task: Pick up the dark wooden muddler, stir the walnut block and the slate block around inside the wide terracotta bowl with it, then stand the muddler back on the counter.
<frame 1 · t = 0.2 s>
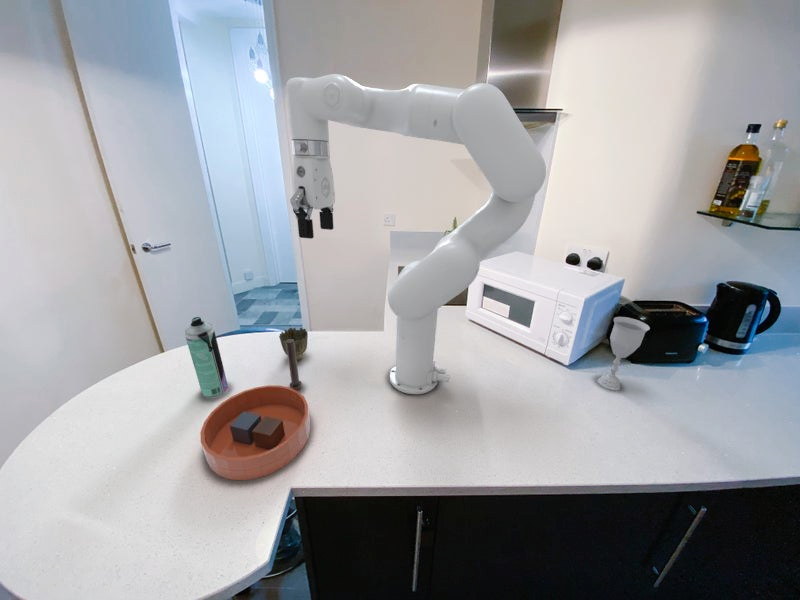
hand: (317, 233, 72), 36 cm above the worktop, tool pointing down, fingers open, 9 cm apart
chalice: (608, 384, 83), on the worktop
bowl: (261, 438, 64), on the worktop
cup: (296, 358, 90), on the worktop
spray can: (216, 392, 76), on the worktop
muddler: (296, 389, 78), on the worktop
slate block: (248, 435, 64), point 1 cm above the worktop, touching bowl
walnut block: (270, 440, 63), point 1 cm above the worktop, touching bowl
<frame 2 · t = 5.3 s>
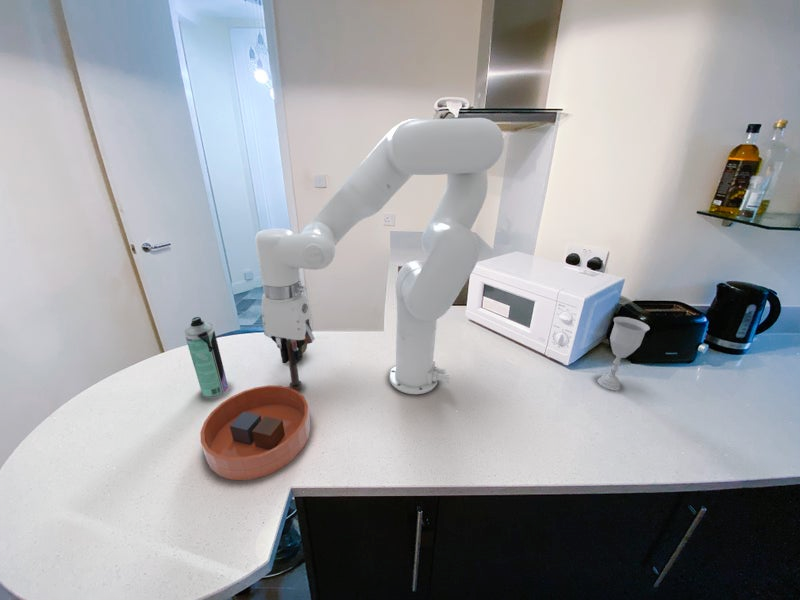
hand: (292, 360, 74), 9 cm above the worktop, tool pointing down, fingers closed on muddler
muddler: (296, 389, 78), on the worktop, touching gripper
everything else where it was.
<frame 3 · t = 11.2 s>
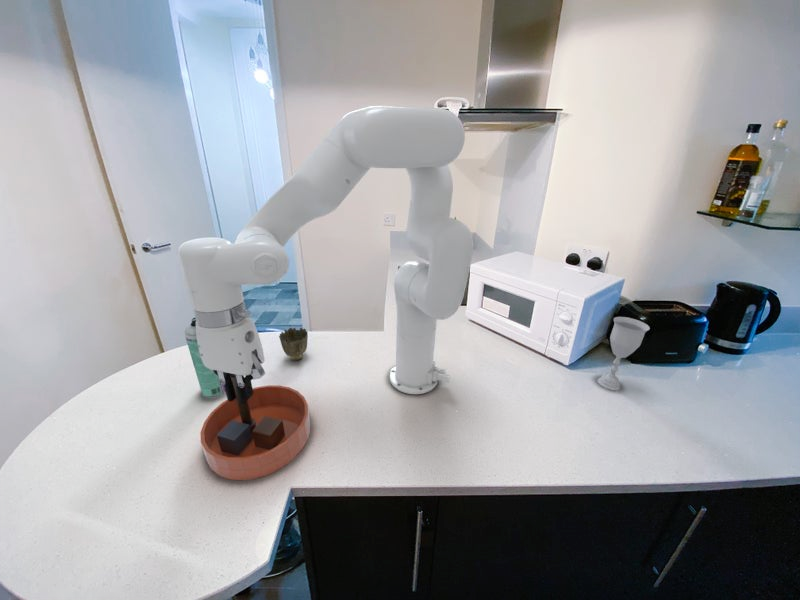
hand: (241, 397, 61), 10 cm above the worktop, tool pointing down, fingers closed on muddler
muddler: (249, 429, 64), point 1 cm above the worktop, touching gripper, slate block
slate block: (237, 444, 62), point 1 cm above the worktop, touching bowl, muddler
everything else where it was.
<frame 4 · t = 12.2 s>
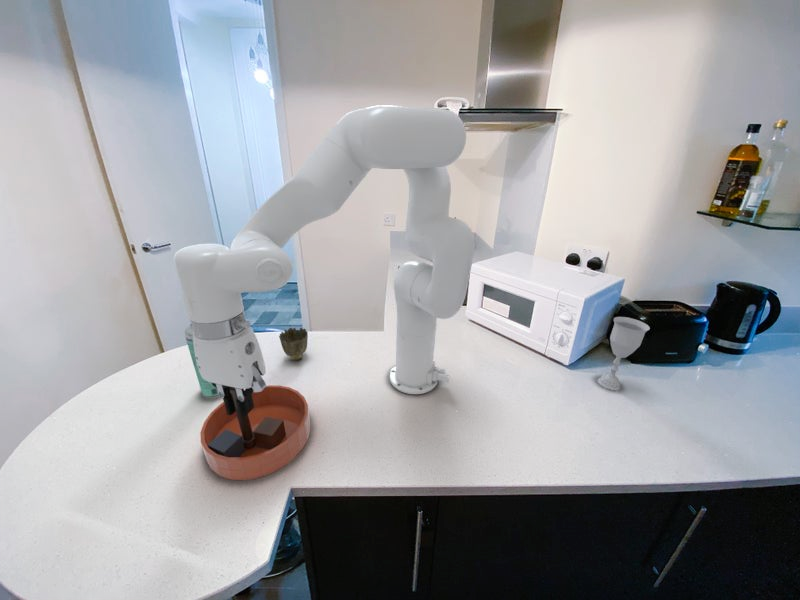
hand: (241, 410, 58), 10 cm above the worktop, tool pointing down, fingers closed on muddler
muddler: (249, 443, 61), point 1 cm above the worktop, touching gripper
slate block: (229, 455, 59), point 1 cm above the worktop, touching bowl
walnut block: (271, 440, 63), point 1 cm above the worktop
everything else where it was.
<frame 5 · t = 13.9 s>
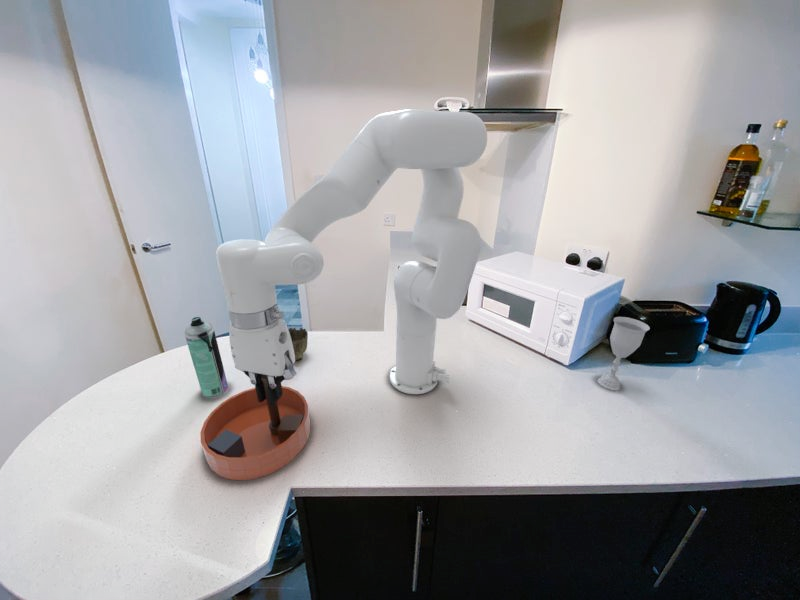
hand: (270, 398, 61), 10 cm above the worktop, tool pointing down, fingers closed on muddler
muddler: (277, 429, 65), point 1 cm above the worktop, touching gripper
walnut block: (293, 437, 64), point 1 cm above the worktop, touching bowl
everything else where it was.
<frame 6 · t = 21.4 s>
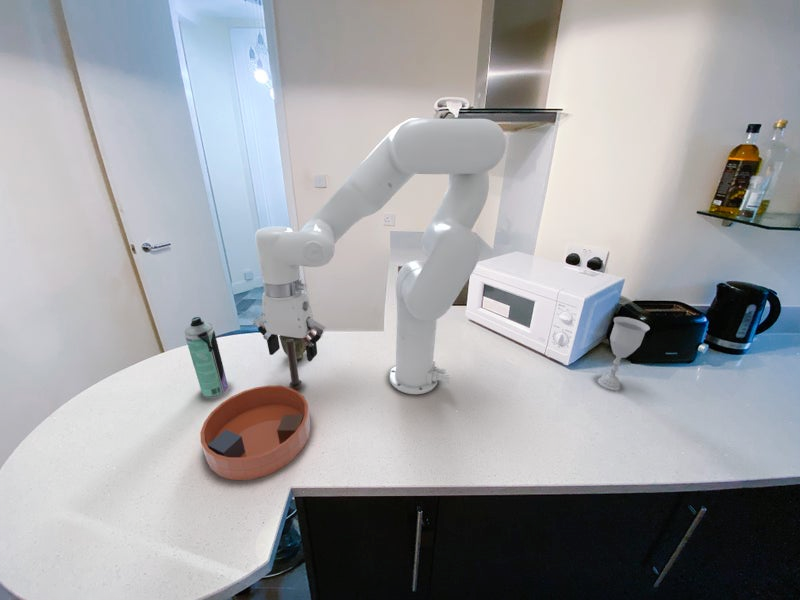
hand: (293, 354, 73), 10 cm above the worktop, tool pointing down, fingers open, 9 cm apart
muddler: (296, 388, 78), on the worktop
everything else where it was.
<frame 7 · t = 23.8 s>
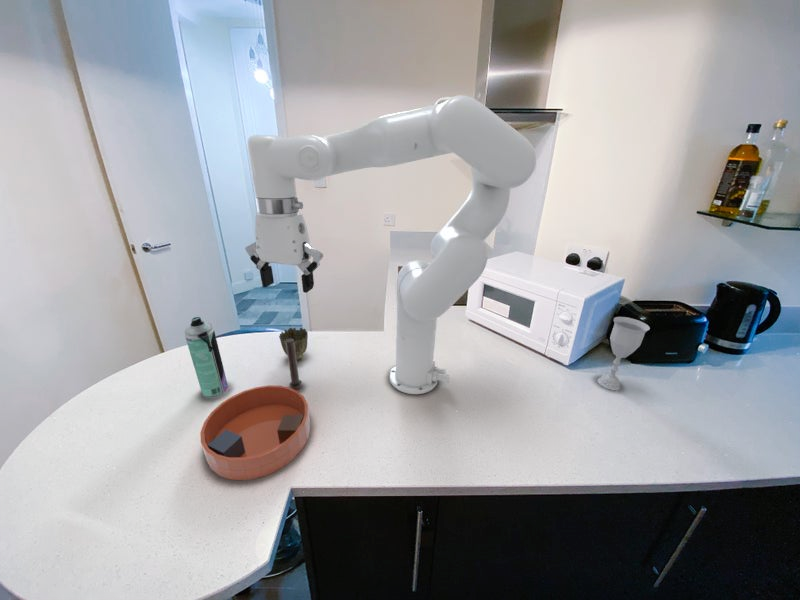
hand: (288, 287, 68), 26 cm above the worktop, tool pointing down, fingers open, 9 cm apart
nothing on the worktop moved.
at the end: walnut block moved 4.3 cm from its start; walnut block 6.5 cm from the bowl (horizontally); slate block 6.3 cm from the bowl (horizontally) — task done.
